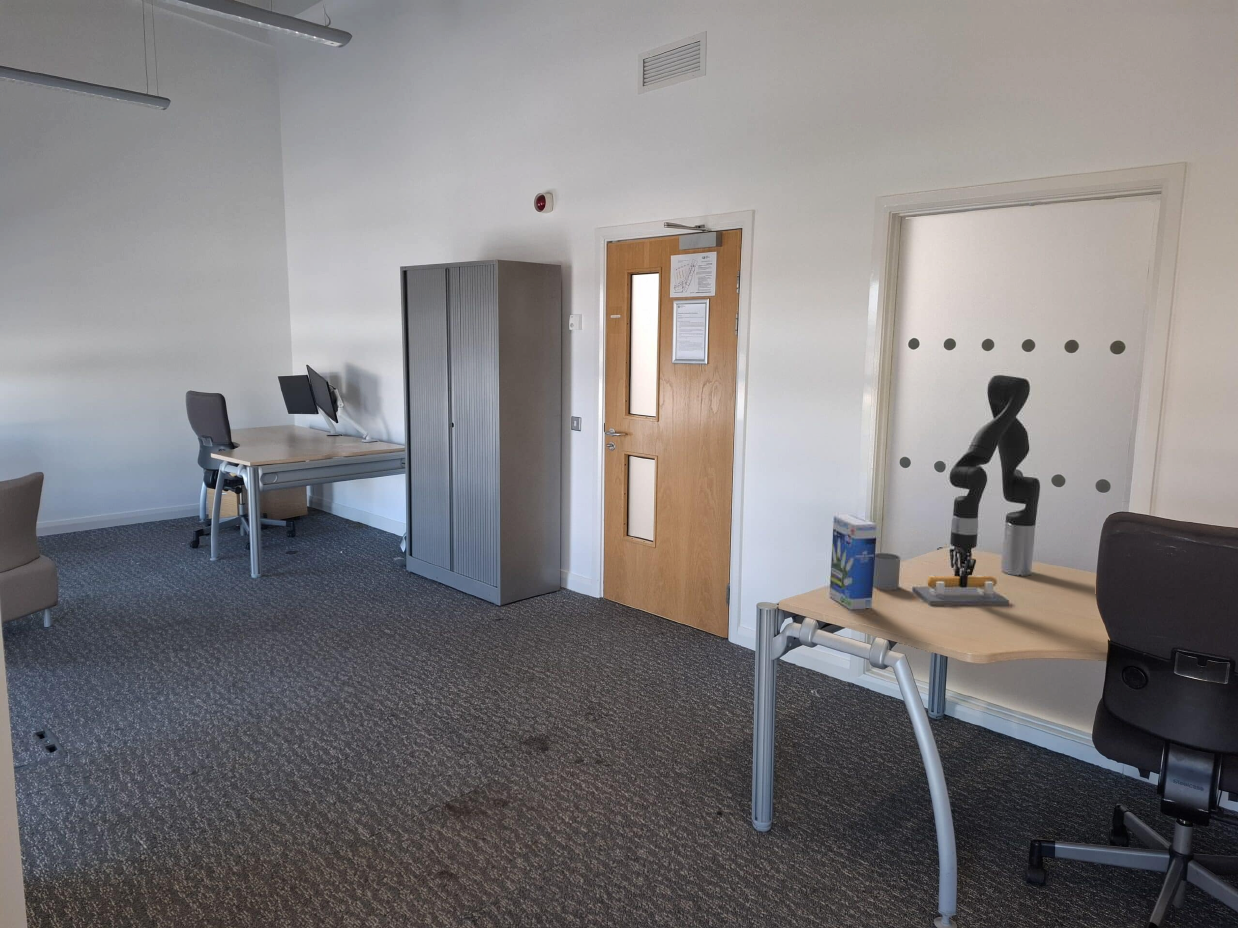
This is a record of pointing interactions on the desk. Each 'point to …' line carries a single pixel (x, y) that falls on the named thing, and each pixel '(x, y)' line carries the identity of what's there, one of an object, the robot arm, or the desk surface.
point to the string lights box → (853, 561)
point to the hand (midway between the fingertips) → (960, 585)
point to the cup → (886, 571)
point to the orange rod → (955, 581)
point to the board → (960, 595)
